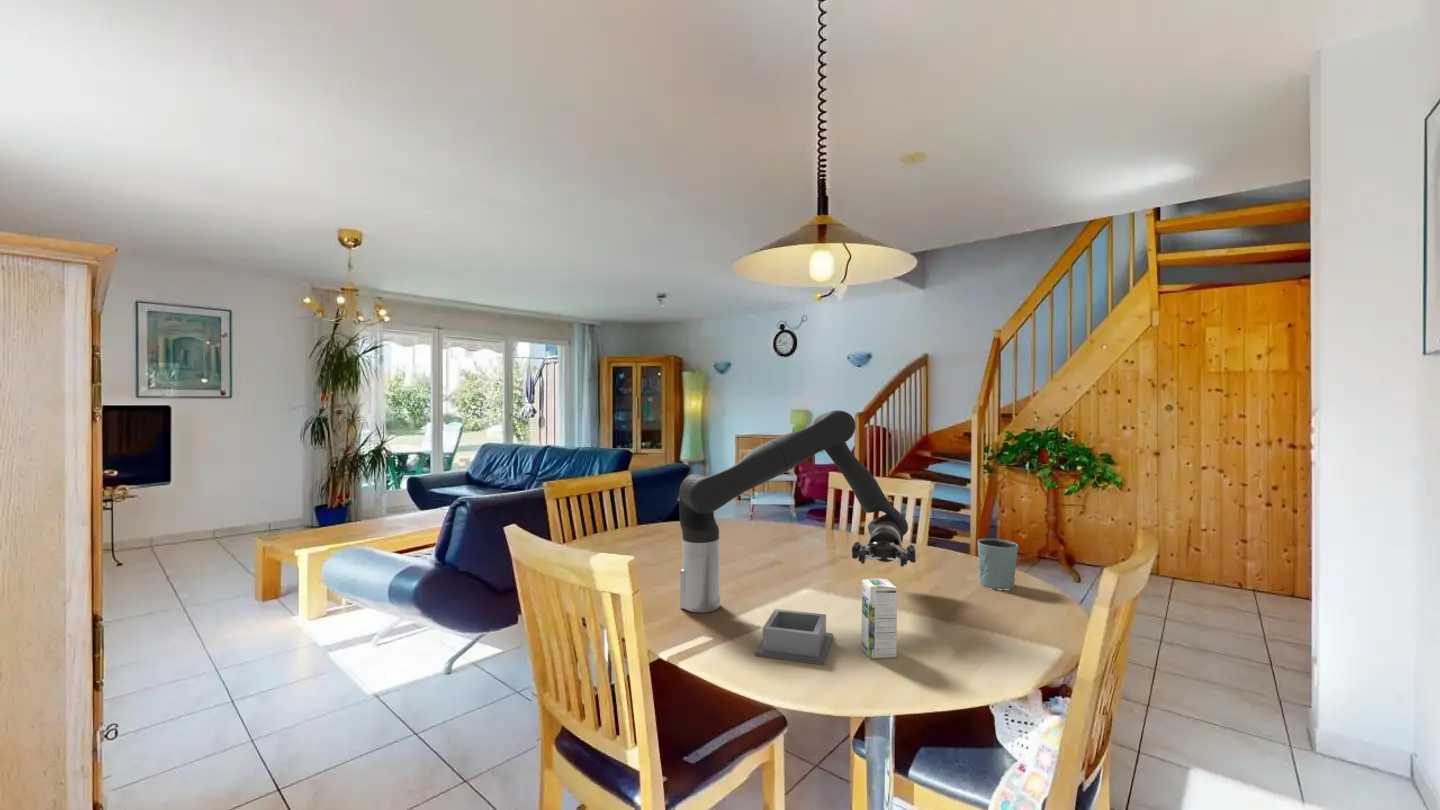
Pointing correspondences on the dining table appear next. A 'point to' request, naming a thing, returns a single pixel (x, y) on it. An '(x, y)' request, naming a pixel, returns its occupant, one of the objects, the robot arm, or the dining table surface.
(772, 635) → the holder
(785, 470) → the robot arm
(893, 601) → the syrup box
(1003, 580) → the grey-green plant pot
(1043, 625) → the dining table surface
